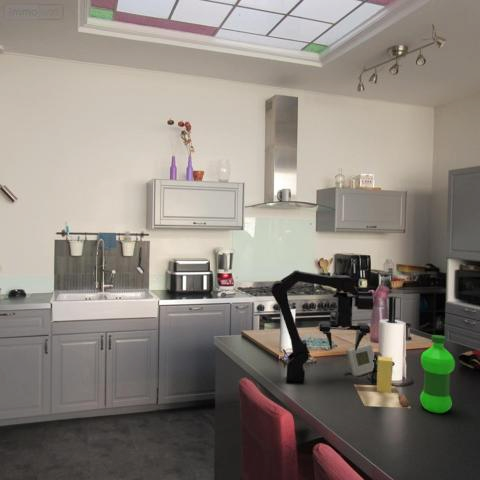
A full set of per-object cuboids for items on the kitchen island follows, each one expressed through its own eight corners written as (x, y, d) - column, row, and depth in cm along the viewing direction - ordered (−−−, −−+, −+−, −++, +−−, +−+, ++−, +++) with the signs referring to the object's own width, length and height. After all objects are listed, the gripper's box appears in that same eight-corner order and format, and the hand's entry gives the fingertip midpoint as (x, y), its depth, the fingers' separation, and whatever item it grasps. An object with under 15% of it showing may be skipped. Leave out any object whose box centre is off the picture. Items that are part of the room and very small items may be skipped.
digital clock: (353, 378, 195) (354, 351, 195) (338, 371, 203) (339, 346, 203) (383, 372, 203) (384, 347, 203) (367, 366, 211) (368, 342, 211)
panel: (364, 408, 164) (364, 405, 164) (353, 386, 185) (353, 384, 185) (410, 410, 164) (410, 408, 164) (394, 388, 185) (394, 386, 185)
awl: (402, 407, 164) (402, 399, 164) (394, 396, 174) (394, 389, 174) (409, 407, 164) (409, 400, 164) (401, 396, 174) (401, 389, 174)
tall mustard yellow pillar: (376, 391, 179) (377, 359, 178) (376, 386, 183) (378, 356, 183) (391, 393, 177) (392, 361, 177) (391, 388, 182) (392, 357, 181)
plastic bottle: (449, 420, 156) (453, 342, 155) (415, 412, 162) (418, 337, 161) (455, 410, 165) (458, 336, 163) (422, 403, 170) (425, 331, 169)
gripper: (365, 306, 195) (364, 345, 196) (317, 304, 196) (316, 343, 197) (371, 311, 184) (369, 353, 184) (320, 309, 185) (319, 351, 186)
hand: (343, 349), depth 188 cm, fingers open, 9 cm apart
